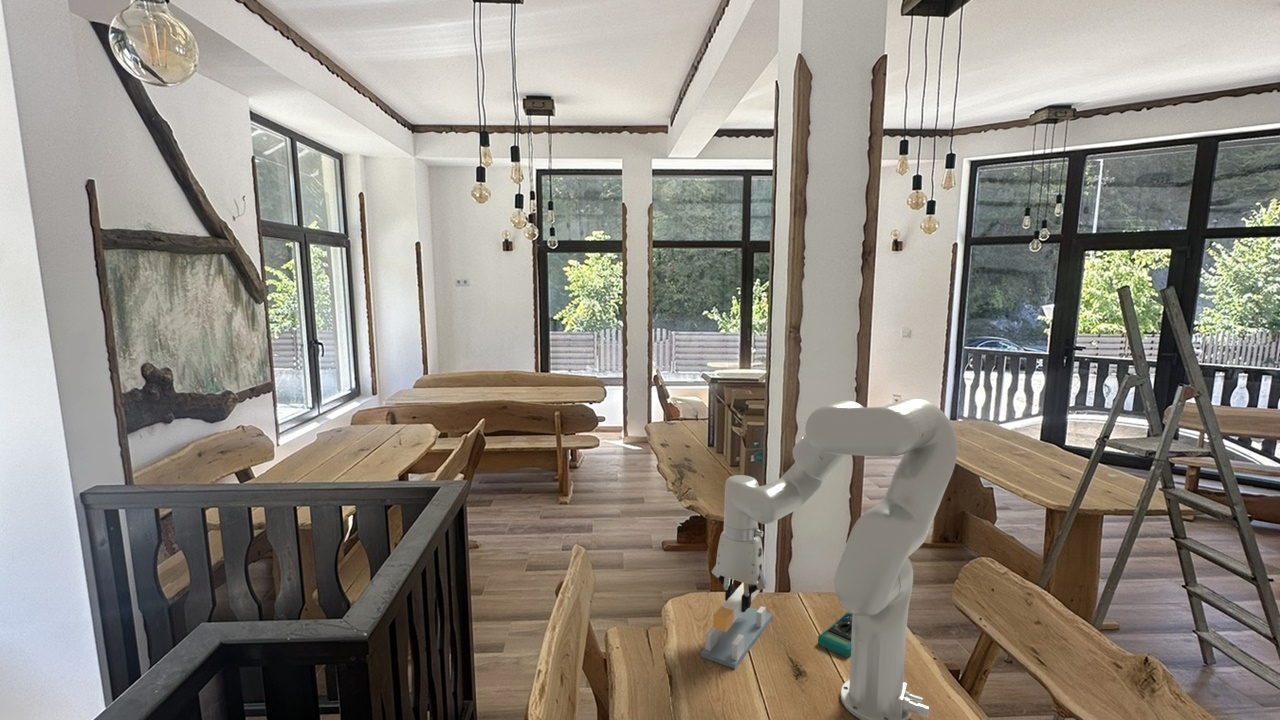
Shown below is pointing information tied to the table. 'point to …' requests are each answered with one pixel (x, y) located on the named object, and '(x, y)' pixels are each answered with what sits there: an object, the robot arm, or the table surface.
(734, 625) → the grey peg holder base
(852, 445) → the robot arm
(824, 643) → the digital multimeter
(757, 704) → the table surface
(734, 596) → the bar
